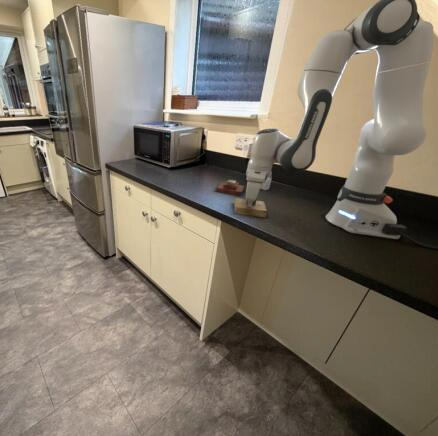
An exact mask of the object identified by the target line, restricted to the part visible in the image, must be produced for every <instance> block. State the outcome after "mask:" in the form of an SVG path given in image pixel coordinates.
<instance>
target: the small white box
mask: <svg viewBox="0 0 438 436" xmlns="http://www.w3.org/2000/svg"><path fill="white" fill-rule="evenodd" d="M272 174H273V171H271V173H270V176H269V178H267V179H266V180H265V181H264V183H263V184H262V186H261V188H260V190H262V191H267V190H269V189H270V186H271V183H272V179H273V178H272V177H273V175H272Z"/></svg>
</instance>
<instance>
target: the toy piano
mask: <svg viewBox="0 0 438 436" xmlns="http://www.w3.org/2000/svg"><path fill="white" fill-rule="evenodd" d="M228 181H229V180H226V181H225V182H223V181H222V182H220V183H219V184H218V186H217V187H216V190H215V191H216V193H221V194H227V195H232V196H238V197H241V196H242V194H243V191H244V189H245V185H240V183H239V182H237V181H236V184H235V185H229V184H227V183H228Z"/></svg>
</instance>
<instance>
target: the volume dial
mask: <svg viewBox="0 0 438 436" xmlns="http://www.w3.org/2000/svg"><path fill="white" fill-rule="evenodd" d="M256 201H258V197H257V198H256V200H255V201H253V204H252V206H255V205H256ZM246 204H247V205H248V200H246Z"/></svg>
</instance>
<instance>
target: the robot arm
mask: <svg viewBox="0 0 438 436" xmlns="http://www.w3.org/2000/svg"><path fill="white" fill-rule="evenodd" d="M420 18H421V16H420V13H419V12H418V4H417V1H416V0H379V1H377V2H376V3H374V4H372V5H371V6H369V7H367V8H366V9H365V10H363V12H361V13H360V14H359V16H356V17H355V18H354V19H353V20H352V21H351V22H350V23H349V24H348V25H347V26H346V27H345V28H344V29H334V30H332V31H329V32H326V33H325V34H323V35H322V36H321V37H320V39H319V40H318V42H317V43H316V45H315V46H314V48H313V51H312V52H311V54H310V56H309V57H308V60H307V62H306V64H305V66H304V69H303V71H302V74H301V75H300V79H299V82H298V86H297V90H296V95H297V97H298V100H299V101H300V102H301V104H302V106H303V117H302V120H301V123H300V126H299V129H298V131H297V134H296V137H295V139H294V138H292V137H289V136H287V135H285V134H284V133H282V132H281V131H280V129H278V128H265V129H261V130H259V131H258V132H257V133H256V134H255V136H254V139H253V141H252V145H251V149H250V158H249V160H248V162H247V167H246V171H245V175H246V181H247V183H246V189H245V190H246V191H245V199H246V200H248V205H247V206H248V207H252V204H253V201H255V200H256V198H257V199H258V195H259V193H260V191H261V189H260V188H261V186H262V184H263V183H264V181H265V180H266V179H267V178H269V176H270V173H271V172H272V169H273V165H274V164H279V165H280V166H281V167H282V168H283V170H284V171H286V172H287V173H289V174H299V173H303V172H305V171H306V170H308V169H309V168H310V167H311V166H312V165H313V164H314V162H315V160H316V155H317V153H316V152H317V145H318V140H319V138H320V136H321V134H322V130H323V128H324V126H325V122H326V120H327V118H328V115H329V112H330V110H331V106H332V102H333V99H334V94H335V91H336V89H337V86H338V84H339V82H340V80H341V77H342V75H343V73H344V71H345V68H346V66H347V63H349V61H350V59H352V57H353V56H354V55H359V54H363V53H365V52H369V51H372V50H375V52H376V53H377V56H378V57H377V58H378V64H377V68H376V74H375V80H374V85H373V92H372V97H371V102H372V107H373V118H372V119H370V120H369V121H367V122H366V123H365V124H364V125H362V127H361V129H360V132H359V138H358V139H359V140H358V144H357V147H356V150H355V154H354V159H353V163H352V166H351V169H350V171H349V174H348V175H347V178H346V180H345V183H344V184H343V185H342V186H341V188H340V190H339V192H338V194H337V196H336V197H337V200H336V201H335V203H334V205H333V206H332V208H331V209H330V210H329V212H327V213H326V214H325V219H326V221H327V222H329V223H331V224H332V225H335V226H336V227H339V228H341V229H343V230H344V231H346V232H348V233H351V234H358V235H364V236H365V235H366V236H372V237H379V238H385V239H393V240H399V239H400V238H401V236H402V237H403V238H405V239H407V240H408V241H410V242H411V243H413V244H415V245H417V246H420V247H423V248H428V249H433V250H438V246H434V245H430V244H426V243H422V242H418V241H417V240H415V239H413V238H412V237H410V236H409V235H407V234H405V233H406V232H407V230H408V227H406V226H405V225H404V224H398V219H397V216H396V214H395V213H394V212H393V211H392V210H391V209H390V208H389V206H388V205H386V204H391V203H392V202H393V198H392V197H391V196H389V195H387V194H386V193H385V192H384V190H385V189H386V187H387V185H388V183H389V181H390V180H391V177H392V175H393V173H394V162H395V158H396V156H403V155H408V154H410V153H412V152H414V151H416V150H417V149H419V148H420V147H421V146H422V144H423V143H424V142H425V140H426V139H427V130H426V128H425V125H424V92H425V91H424V90H425V86H426V81H427V78H428V73H429V68H430V65H431V64H430V62H431V59H432V55H433V49H434V35H435V34H434V26H433V23H431V21H427V20H421V19H420Z"/></svg>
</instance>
